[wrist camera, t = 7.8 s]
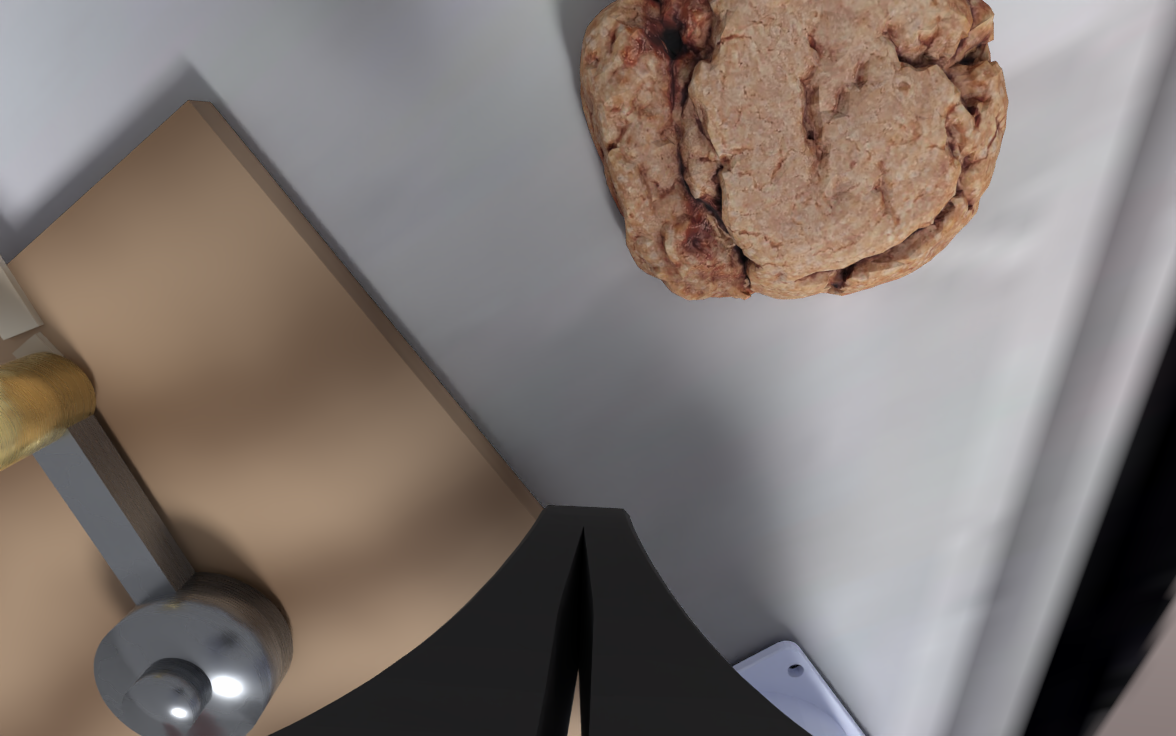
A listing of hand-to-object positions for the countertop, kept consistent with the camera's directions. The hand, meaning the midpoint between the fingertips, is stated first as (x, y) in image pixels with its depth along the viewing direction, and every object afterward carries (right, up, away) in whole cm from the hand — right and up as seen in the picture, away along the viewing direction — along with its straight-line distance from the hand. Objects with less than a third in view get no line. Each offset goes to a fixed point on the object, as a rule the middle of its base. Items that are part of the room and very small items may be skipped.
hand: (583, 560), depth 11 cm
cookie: (+5, +10, +7) cm, 13 cm away
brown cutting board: (-12, -5, +12) cm, 18 cm away
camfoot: (-13, -2, +10) cm, 17 cm away
